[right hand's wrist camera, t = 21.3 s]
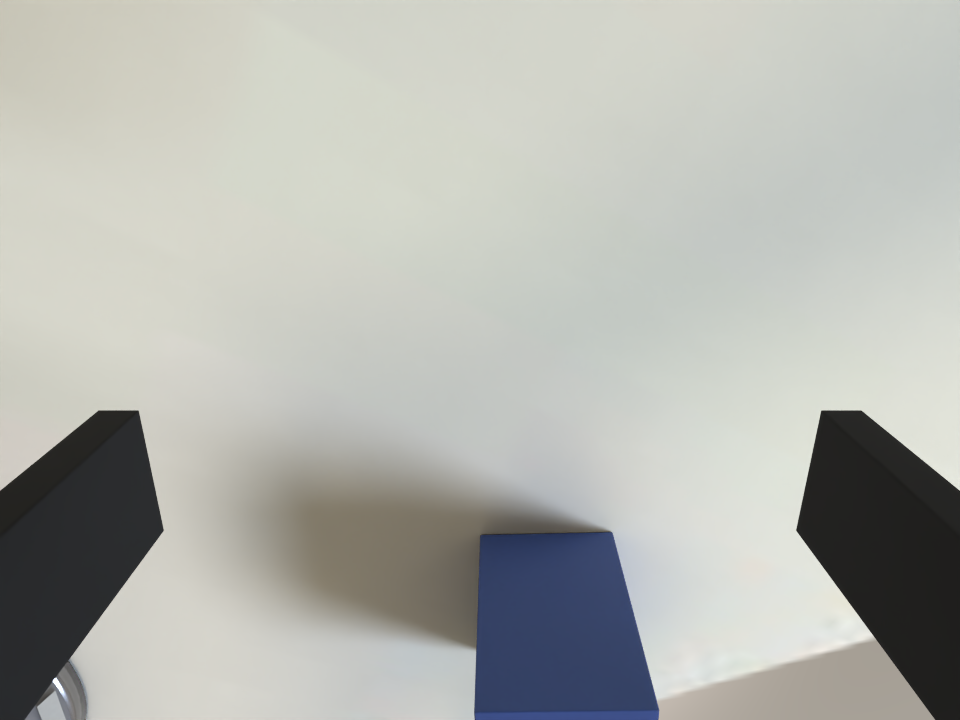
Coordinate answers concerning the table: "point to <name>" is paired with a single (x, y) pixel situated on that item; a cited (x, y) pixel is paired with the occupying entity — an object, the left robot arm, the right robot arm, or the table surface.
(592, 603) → the block
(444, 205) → the table surface
